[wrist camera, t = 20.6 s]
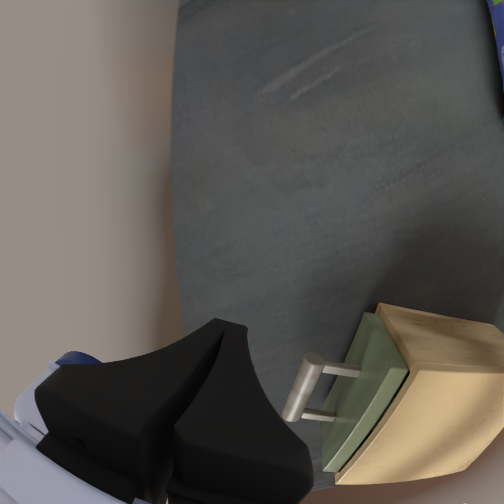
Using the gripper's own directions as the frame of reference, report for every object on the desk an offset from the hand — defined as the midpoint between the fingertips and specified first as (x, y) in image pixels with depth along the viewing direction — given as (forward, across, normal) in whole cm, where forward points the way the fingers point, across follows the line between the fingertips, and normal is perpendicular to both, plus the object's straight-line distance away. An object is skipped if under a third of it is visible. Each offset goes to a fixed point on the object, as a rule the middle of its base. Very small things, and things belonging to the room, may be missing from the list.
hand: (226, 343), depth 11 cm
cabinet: (+9, -16, +6) cm, 20 cm away
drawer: (+9, -12, +6) cm, 16 cm away
